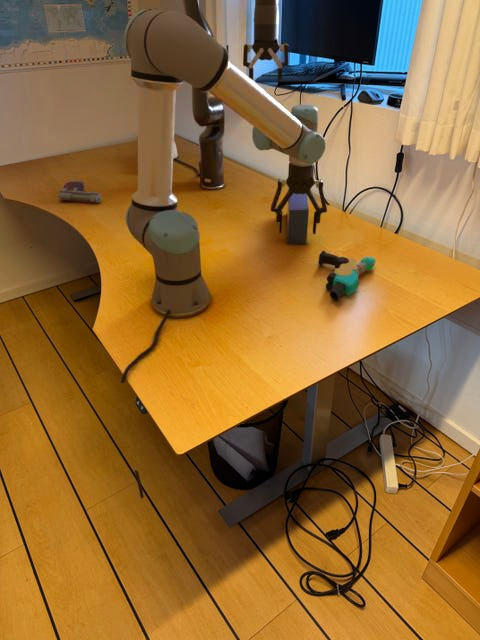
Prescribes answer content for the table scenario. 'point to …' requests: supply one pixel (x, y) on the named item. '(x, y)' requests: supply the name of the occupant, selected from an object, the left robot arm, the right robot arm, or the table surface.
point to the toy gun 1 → (78, 193)
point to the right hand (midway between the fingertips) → (265, 81)
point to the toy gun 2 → (344, 273)
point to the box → (297, 219)
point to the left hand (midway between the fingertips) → (297, 231)
